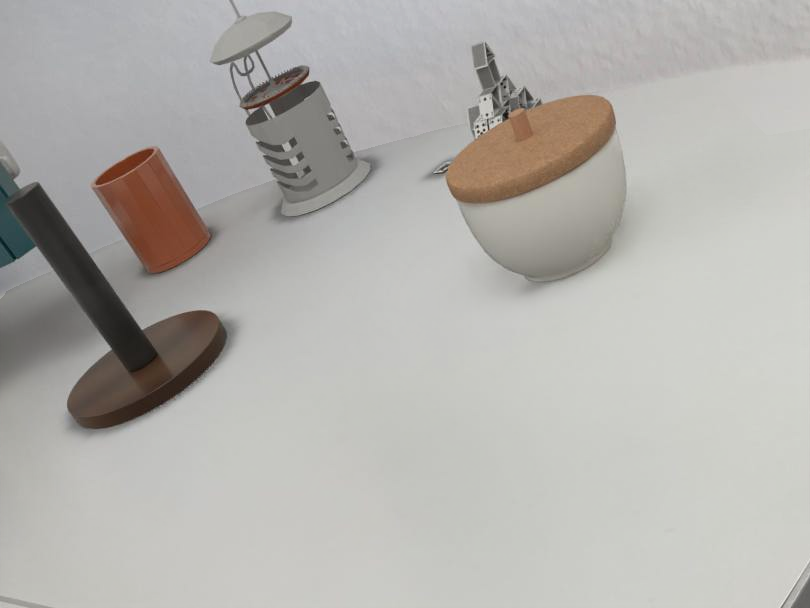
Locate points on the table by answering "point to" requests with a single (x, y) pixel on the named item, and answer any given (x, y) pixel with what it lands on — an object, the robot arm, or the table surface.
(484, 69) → the house of cards
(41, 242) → the towel holder
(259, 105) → the french press
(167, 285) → the table surface
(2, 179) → the teal tall block
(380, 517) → the table surface
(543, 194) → the trinket box
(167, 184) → the terracotta cup
